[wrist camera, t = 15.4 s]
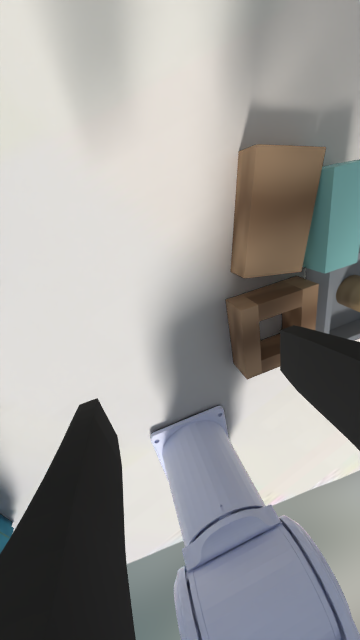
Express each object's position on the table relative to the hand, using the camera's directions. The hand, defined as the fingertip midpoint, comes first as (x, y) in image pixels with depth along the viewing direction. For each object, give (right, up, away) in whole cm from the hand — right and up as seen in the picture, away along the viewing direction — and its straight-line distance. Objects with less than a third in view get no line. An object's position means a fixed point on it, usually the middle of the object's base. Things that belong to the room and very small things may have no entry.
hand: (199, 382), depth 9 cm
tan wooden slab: (+5, +10, +9) cm, 15 cm away
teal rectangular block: (+10, +11, +10) cm, 18 cm away
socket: (+7, +2, +13) cm, 15 cm away
